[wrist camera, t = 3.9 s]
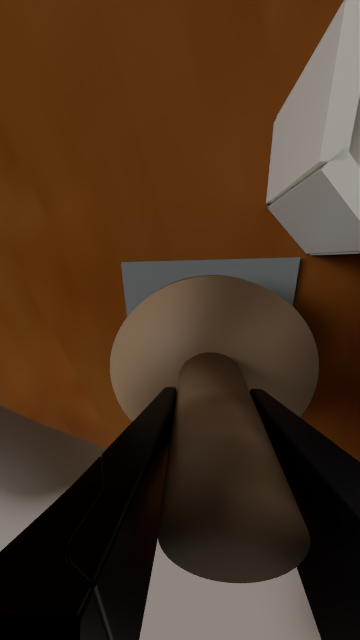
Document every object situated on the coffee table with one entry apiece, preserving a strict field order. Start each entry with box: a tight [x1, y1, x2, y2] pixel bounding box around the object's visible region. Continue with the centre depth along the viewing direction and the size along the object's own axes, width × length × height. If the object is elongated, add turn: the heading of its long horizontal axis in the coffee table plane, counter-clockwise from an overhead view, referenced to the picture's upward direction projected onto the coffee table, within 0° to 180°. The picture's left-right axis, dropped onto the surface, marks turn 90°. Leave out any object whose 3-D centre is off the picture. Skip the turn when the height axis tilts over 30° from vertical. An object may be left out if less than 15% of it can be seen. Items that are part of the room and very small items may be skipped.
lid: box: [110, 275, 319, 583], centre depth 6 cm, size 9×9×6 cm
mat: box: [121, 257, 300, 317], centre depth 12 cm, size 10×10×1 cm
